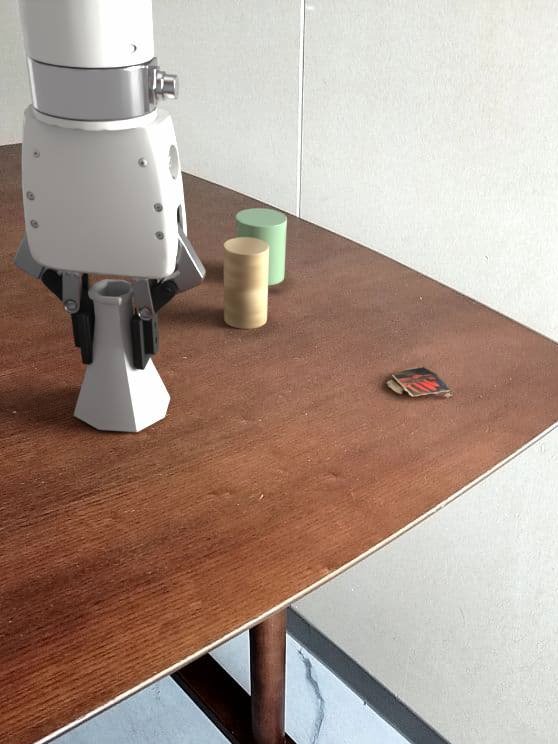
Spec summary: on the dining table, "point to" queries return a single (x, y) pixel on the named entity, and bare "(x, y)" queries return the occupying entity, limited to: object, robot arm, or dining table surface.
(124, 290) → the flask
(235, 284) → the birch peg
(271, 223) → the mint green cylinder
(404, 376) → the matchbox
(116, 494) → the dining table surface
